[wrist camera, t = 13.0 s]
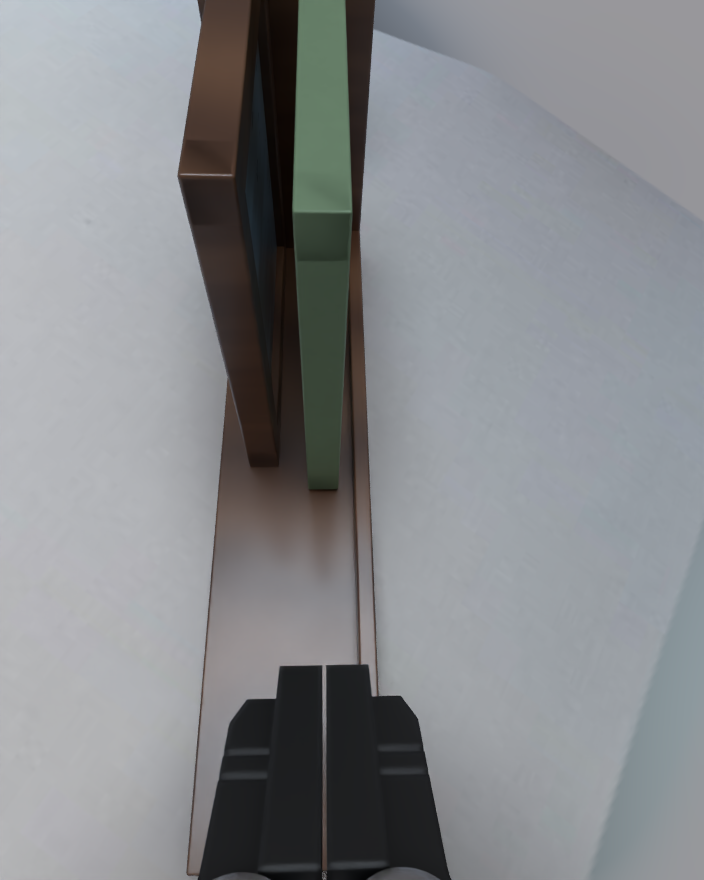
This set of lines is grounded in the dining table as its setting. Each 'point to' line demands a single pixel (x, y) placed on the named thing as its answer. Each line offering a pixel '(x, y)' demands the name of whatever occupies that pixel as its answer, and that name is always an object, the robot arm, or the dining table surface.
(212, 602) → the window frame
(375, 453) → the dining table surface
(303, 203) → the sliding pane
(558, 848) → the dining table surface
